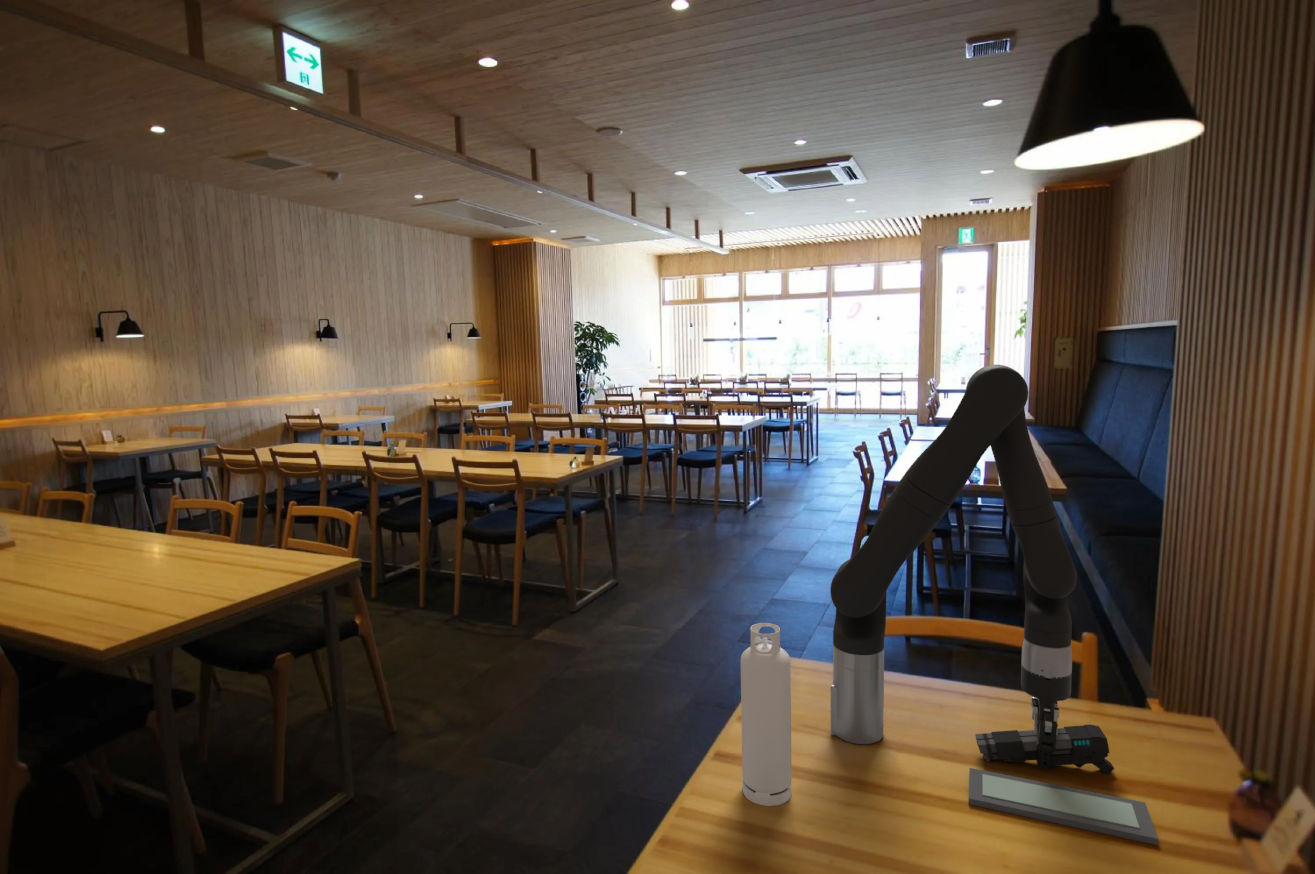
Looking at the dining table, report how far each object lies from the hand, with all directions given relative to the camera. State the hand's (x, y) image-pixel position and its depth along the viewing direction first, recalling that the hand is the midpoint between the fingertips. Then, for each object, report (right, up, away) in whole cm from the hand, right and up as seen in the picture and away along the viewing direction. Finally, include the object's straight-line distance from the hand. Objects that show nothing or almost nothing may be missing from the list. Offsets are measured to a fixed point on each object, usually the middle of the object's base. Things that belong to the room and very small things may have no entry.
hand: (1043, 759), depth 122 cm
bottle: (-49, -3, -5) cm, 49 cm away
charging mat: (-4, -2, -11) cm, 12 cm away
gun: (0, -1, 0) cm, 1 cm away
